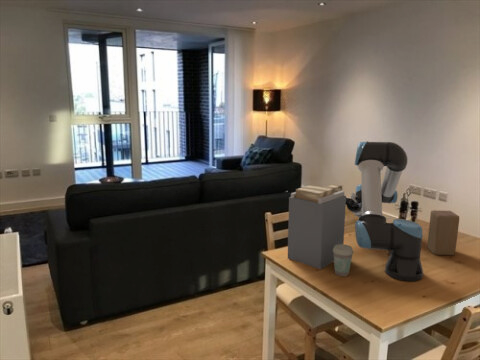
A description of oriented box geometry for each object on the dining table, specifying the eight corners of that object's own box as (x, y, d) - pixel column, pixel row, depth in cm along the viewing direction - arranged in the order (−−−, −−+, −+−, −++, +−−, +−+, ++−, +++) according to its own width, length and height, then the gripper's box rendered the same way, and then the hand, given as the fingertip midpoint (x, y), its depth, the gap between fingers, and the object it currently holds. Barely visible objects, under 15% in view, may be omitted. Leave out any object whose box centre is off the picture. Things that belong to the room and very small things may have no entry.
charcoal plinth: (311, 246, 195) (313, 185, 189) (342, 256, 183) (346, 191, 177) (287, 258, 181) (289, 192, 175) (320, 269, 169) (323, 199, 162)
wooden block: (446, 248, 193) (451, 210, 189) (455, 256, 183) (460, 216, 179) (426, 247, 194) (430, 209, 189) (434, 255, 184) (438, 215, 180)
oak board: (328, 187, 194) (328, 180, 193) (349, 191, 185) (350, 183, 185) (295, 197, 174) (295, 189, 173) (318, 202, 166) (318, 193, 165)
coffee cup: (327, 270, 168) (329, 245, 165) (344, 267, 171) (345, 242, 168) (339, 279, 160) (340, 252, 157) (356, 275, 163) (357, 249, 160)
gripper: (375, 217, 197) (360, 204, 182) (333, 208, 214) (316, 195, 199) (380, 204, 199) (365, 190, 184) (337, 196, 216) (320, 182, 201)
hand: (339, 193), depth 191 cm, fingers open, 13 cm apart
